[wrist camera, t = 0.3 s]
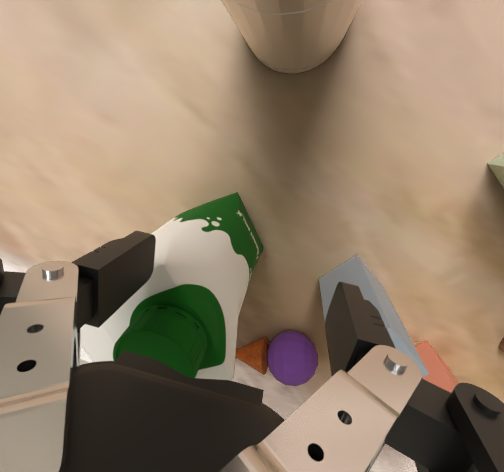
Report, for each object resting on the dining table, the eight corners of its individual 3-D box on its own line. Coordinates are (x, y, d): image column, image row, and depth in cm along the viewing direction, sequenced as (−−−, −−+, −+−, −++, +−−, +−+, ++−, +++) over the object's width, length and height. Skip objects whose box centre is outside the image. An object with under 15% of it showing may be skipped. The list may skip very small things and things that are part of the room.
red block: (410, 384, 35) (461, 501, 24) (387, 358, 34) (430, 467, 23) (449, 368, 34) (523, 486, 22) (426, 340, 33) (492, 449, 22)
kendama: (149, 339, 34) (315, 350, 29) (174, 317, 40) (317, 323, 35) (156, 383, 35) (318, 400, 30) (180, 355, 41) (319, 366, 36)
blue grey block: (344, 308, 33) (367, 400, 22) (318, 278, 32) (329, 357, 21) (383, 286, 31) (429, 374, 20) (356, 254, 30) (390, 327, 19)
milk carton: (274, 251, 32) (239, 424, 13) (206, 275, 34) (98, 448, 16) (241, 180, 29) (143, 269, 11) (171, 212, 32) (-4, 327, 13)
